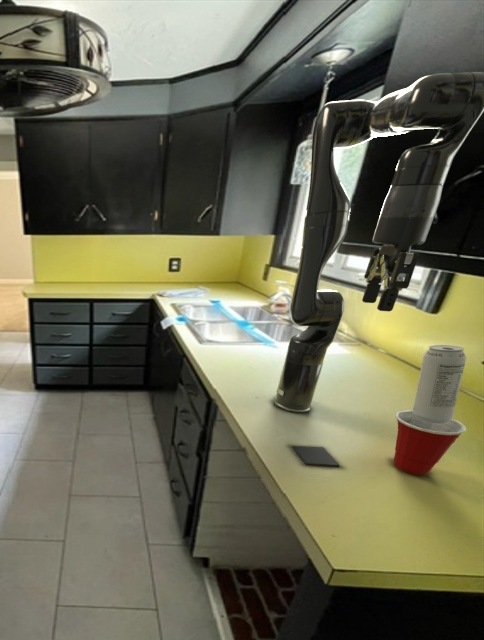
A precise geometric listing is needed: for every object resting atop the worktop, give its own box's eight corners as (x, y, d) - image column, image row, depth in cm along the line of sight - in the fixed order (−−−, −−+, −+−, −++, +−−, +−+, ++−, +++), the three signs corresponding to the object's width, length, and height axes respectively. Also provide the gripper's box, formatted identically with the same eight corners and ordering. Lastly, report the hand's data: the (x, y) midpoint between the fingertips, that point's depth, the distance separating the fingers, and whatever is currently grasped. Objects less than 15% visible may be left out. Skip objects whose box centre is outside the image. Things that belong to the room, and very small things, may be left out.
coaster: (292, 447, 86) (292, 445, 86) (322, 448, 86) (323, 447, 86) (306, 464, 80) (306, 463, 80) (339, 466, 80) (339, 465, 79)
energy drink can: (436, 413, 77) (451, 343, 73) (460, 424, 72) (477, 350, 67) (404, 413, 78) (417, 345, 74) (425, 424, 73) (440, 351, 68)
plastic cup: (387, 447, 87) (405, 402, 82) (447, 470, 79) (471, 422, 74) (370, 463, 81) (389, 416, 76) (434, 490, 73) (459, 439, 68)
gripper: (454, 214, 57) (415, 316, 64) (414, 216, 69) (384, 301, 76) (397, 214, 59) (365, 312, 66) (367, 216, 72) (343, 298, 78)
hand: (375, 306), depth 71 cm, fingers open, 8 cm apart
